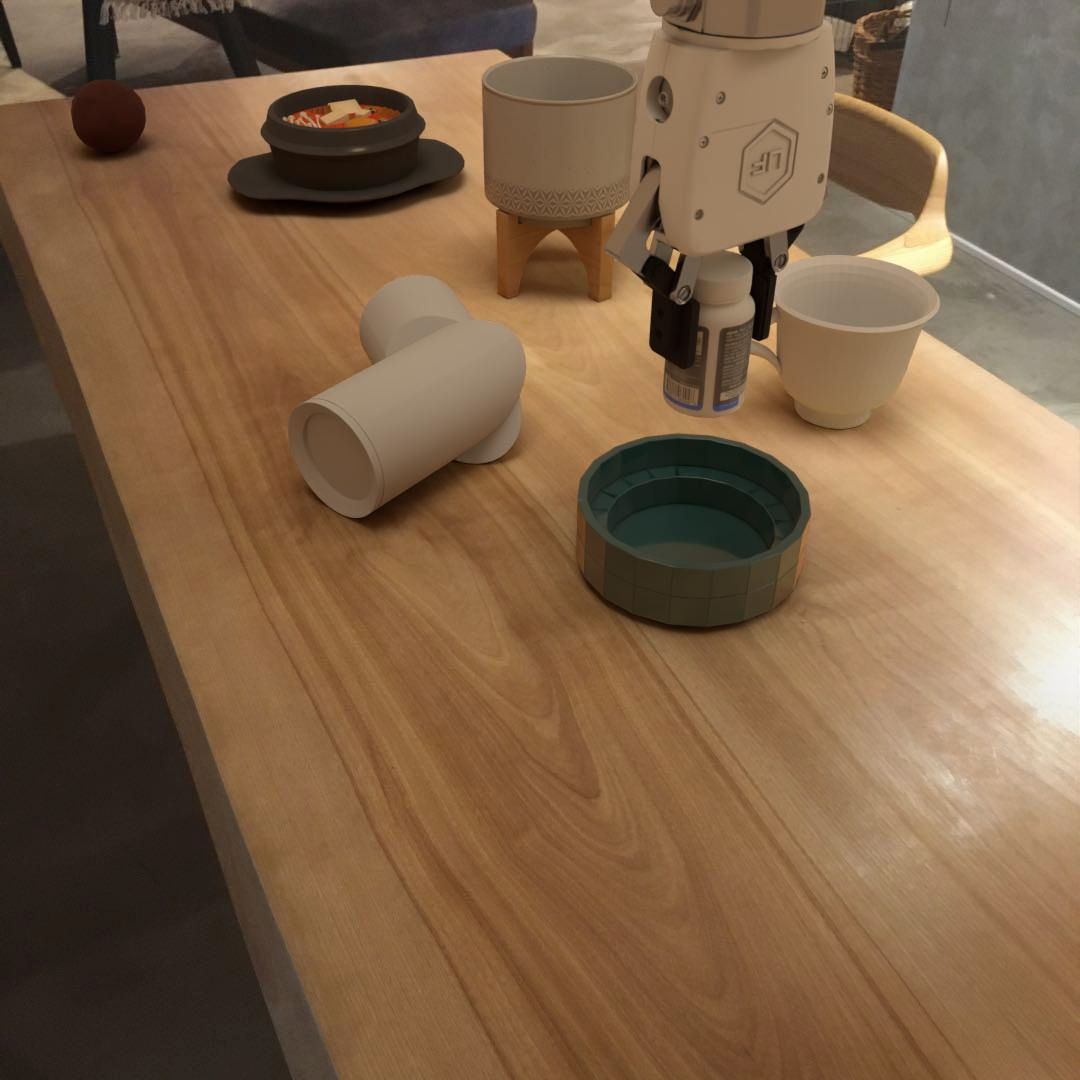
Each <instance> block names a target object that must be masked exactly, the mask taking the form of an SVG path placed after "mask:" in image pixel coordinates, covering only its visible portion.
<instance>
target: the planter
mask: <svg viewBox="0 0 1080 1080" xmlns="http://www.w3.org/2000/svg"><path fill="white" fill-rule="evenodd" d="M638 87H639V79H638V75H637V73H636V72H635V71H634V70H633V69H632V68H630V67H628V66H627V65H625V64H622V63H619V62H616V61H613V60H610V59H606V58H601V57H596V56H587V55H578V54H536V55H528V56H521V57H515V58H511V59H507V60H502V61H500V62H498V63H495V64H493V65H491V66H488V68H486V69H485V70H484V71H483V73H482V74H481V109H482V110H481V111H482V114H481V115H482V147H483V148H482V150H483V151H482V152H483V180H484V181H483V187H484V188H483V189H484V197H485V198H486V200H487V201H488V202H489V203H490V204H491V205H492V206H494V207H495V208H497V209H496V210H495V224H496V225H495V227H496V229H495V230H496V276H497V279H496V282H497V294H499V295H500V296H502V297H504V298H506V299H508V300H509V299H512V298H514V297H516V296H519V295H520V284H521V279H522V275H523V272H524V270H525V266H526V264H527V262H528V260H529V258H530V256H531V255H532V254H533V251H535V249H536V247H537V246H538V245H539V244H540V243H541V242H542V241H543V240H544V239H545V238H546V237H547V236H549V235H550V234H551V233H553V232H555V231H558V232H559V233H562V235H564V236H565V237H566V238H567V239H568V240H569V241H570V242H571V244H572V245H573V247H574V248H575V249H576V251H577V253H578V255H579V257H580V259H581V261H582V263H583V266H584V269H585V272H586V276H587V282H588V287H589V298H591V299H592V300H594V301H597V302H603V301H605V300H607V299H611V298H612V293H613V291H612V288H613V269H614V268H613V267H614V259H613V258H612V257H610V256H609V255H607V254H606V252H605V245H606V242H607V240H608V239H609V237H610V235H611V233H612V232H613V230H614V228H615V226H616V211H618V210H619V209H621V208H623V207H624V206H625V205H626V204H627V203H629V183H630V168H631V155H632V146H633V137H634V129H635V121H636V115H637V108H638Z"/></svg>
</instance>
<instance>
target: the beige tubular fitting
mask: <svg viewBox="0 0 1080 1080" xmlns="http://www.w3.org/2000/svg"><path fill="white" fill-rule="evenodd" d="M358 327H359V328H358V330H359V339H360V343H361V346H362V349H363V351H364V353H365V355H366V356H367V358H368V360H369V362H370V364H371V365H370V366H368V367H366V368H365V369H363V370H361V371H359V372H357V373H355V374H354V375H351V376H350V377H348V378H346V379H344V380H342V381H341V382H339V383H337V384H334V385H333V386H331V387H329V388H328V389H326V390H324V391H322V392H320V393H318V394H316V395H314V396H312V397H311V398H309V399H307V400H304V401H303V402H301V403H300V404H298V405H297V406H295V407H294V408H293V410H292V411H291V413H290V414H289V415H290V416H289V418H288V423H287V436H288V437H287V438H288V443H289V447H290V451H291V454H292V457H293V460H294V462H295V464H296V466H297V468H298V471H299V473H300V474H301V476H302V477H303V479H304V481H305V482H306V484H307V485H308V487H309V488H310V489H311V491H312V492H313V493H314V494H315V495H316V496H317V497H318V498H319V499H320V501H322V502H323V503H324V505H326V506H327V507H328V508H330V509H331V510H333V511H334V512H336V513H338V514H339V515H342V516H344V517H347V518H352V519H360V518H364V517H366V516H368V515H369V514H371V513H372V512H375V511H376V510H377V509H379V508H381V507H382V506H384V505H385V504H387V503H388V502H390V501H391V500H393V499H394V498H396V497H398V496H399V495H401V494H402V493H404V492H406V491H407V490H409V489H410V488H412V487H413V486H415V485H416V484H418V483H420V482H421V481H422V480H424V479H425V478H427V477H428V476H430V475H433V473H435V472H436V471H438V470H439V469H441V468H443V467H445V466H446V465H448V464H449V463H450V462H452V461H457V462H460V463H464V464H474V465H477V464H485V463H489V462H494V461H495V460H497V459H499V458H501V457H503V456H504V455H505V454H507V452H508V451H510V449H512V447H513V445H514V444H515V442H516V440H517V438H518V437H519V434H520V430H521V426H522V419H523V418H522V417H523V409H522V408H523V407H522V406H523V405H522V402H521V401H522V400H521V399H522V398H521V394H522V390H523V387H524V384H525V381H526V380H525V379H526V374H527V373H526V372H527V357H526V354H525V350H524V347H523V345H522V341H521V340H520V339H519V338H518V336H517V334H515V332H513V331H512V330H511V329H510V328H508V327H507V326H505V325H503V324H502V323H499V322H496V321H494V320H489V319H475V318H474V316H473V315H472V313H471V312H470V311H469V309H468V308H467V307H466V306H465V304H464V303H463V301H462V300H461V299H460V298H459V296H458V294H457V293H456V292H455V291H454V290H453V288H452V287H451V286H449V284H447V283H445V282H444V281H442V280H441V279H439V278H437V277H433V276H430V275H426V274H410V275H404V276H400V277H397V278H395V279H393V280H390V281H389V282H387V283H386V284H384V285H383V286H381V287H380V288H379V289H378V290H377V291H375V292H374V293H373V295H372V296H371V297H370V298H369V299H368V300H367V303H366V304H365V306H364V308H363V310H362V312H361V316H360V319H359V326H358Z"/></svg>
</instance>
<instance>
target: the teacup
mask: <svg viewBox="0 0 1080 1080" xmlns="http://www.w3.org/2000/svg"><path fill="white" fill-rule="evenodd" d="M775 275H777V280H776V288H775V295H774V302H773V303H774V304H775V306H773V310H772V317H771V325H770V326H772V325H773V324H776V341H775V342H776V343H775V345H776V348H775V349H776V351H775V353H774V351H773V350H771V348H769V347H768V346H767V345H765V344H763V343H760V342H759V341H756V340H754V339H752V340H751V348H750V355H751V356H755V357H758V358H762V359H764V360H766V361H768V362H769V363H770V364H771V365H772V367H774V369H775V370H776V372H777V374H778V378H779V380H780V383H781V385H782V386H783V388H784V389H785V391H786V392H787V394H788V395H789V396H791V397H792V398H793V399H794V403H793V405H794V410H795V411H796V414H798V416H799V417H800V418H802V419H803V420H805V421H806V422H808V423H810V424H812V425H815V426H818V427H821V428H826V429H833V430H834V429H835V430H845V429H851V428H856V427H858V426H861V425H864V423H866V422H867V421H868V420H869V418H870V417H871V414H872V412H871V411H873V410H876V409H878V408H879V407H882V406H883V405H884V404H886V403H887V402H889V401H890V399H891V398H893V396H894V395H895V394H896V393H897V391H898V389H899V388H900V386H901V384H902V382H903V380H904V377H905V376H906V373H907V371H908V368H909V365H910V362H911V359H912V356H913V354H914V351H915V348H916V345H917V342H918V340H919V337H920V335H921V333H922V331H923V328H924V326H925V324H926V323H927V322H928V321H929V320H931V319H932V318H933V317H934V316H935V315H936V314H937V313H938V311H939V310H940V306H941V300H940V296H939V294H938V292H937V290H935V288H934V286H933V285H931V283H930V282H929V281H928V280H927V279H925V278H924V277H923V276H922V275H920V274H918V273H916V272H915V271H913V270H911V269H909V268H907V267H904V266H902V265H899V264H897V263H892V262H890V261H885V260H882V259H877V258H873V257H866V256H858V255H847V254H827V255H826V254H825V255H815V256H810V257H805V258H801V259H798V260H795V261H792V262H790V263H789V262H788V263H787V265H786V267H785V268H784V269H783V270H782V271H780V272H775Z"/></svg>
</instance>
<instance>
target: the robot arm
mask: <svg viewBox="0 0 1080 1080" xmlns="http://www.w3.org/2000/svg"><path fill="white" fill-rule="evenodd" d="M649 3H650V8H651V11H652V12H653V14H654V15H655V16H656V17H659V18H660V17H661V27H660V28H657V29H655V30H654V31H653V34H652V37H651V41H650V45H649V49H648V52H647V57H646V62H645V66H644V71H643V75H642V79H641V86H640V91H639V97H638V101H637V107H636V121H635V129H634V137H633V146H632V155H631V168H630V183H629V201H628V204H627V205H626V207H625V209H624V211H623V212H622V214H621V216H620V217H619V220H618V222H617V223H616V224H615V228H614V230H613V232H612V233H611V235H610V237H609V239H608V240H607V242H606V245H605V252H606V254H607V255H609V256H610V257H612V258H613V260H615V261H617V262H618V263H620V264H621V265H623V266H625V267H626V268H628V269H629V270H630V271H631V272H633V273H634V274H635V275H636V276H637V277H638V278H639V279H640V280H641V282H642V283H643V285H644V286H645V287H647V288H649V289H651V291H652V292H651V306H650V321H649V335H648V336H649V337H648V346H649V348H650V350H651V351H652V352H654V353H655V354H657V355H659V356H660V357H661V358H663V359H664V360H665V359H666V360H668V361H669V362H671V363H673V364H674V365H676V366H677V367H679V368H681V369H687V368H689V367H692V366H693V364H694V362H695V355H696V345H697V335H698V324H699V314H700V304H699V301H697V300H696V299H694V298H692V297H691V296H692V294H693V290H694V287H695V283H696V280H697V277H698V273H699V270H700V266H701V263H702V259H703V256H706V255H710V254H714V253H717V252H720V251H724V250H726V251H728V250H729V249H734V248H736V247H737V248H738V252H739V253H738V254H740V255H743V256H744V257H746V258H747V259H748V260H749V261H750V262H751V263H752V266H753V274H752V284H751V290H750V293H749V294H750V295H751V297H752V298H753V300H754V303H755V316H754V322H753V331H752V340H753V341H755V342H762V341H764V340H768V338H769V336H770V331H771V326H772V325H771V317H772V310H773V307H774V303H775V302H774V295H775V288H776V280H777V275H775V272H780V271H782V270H783V269H784V268H785V267H786V265H787V264H789V261H790V260H789V259H790V255H789V249H790V248H791V247H792V245H793V244H794V242H795V241H796V240H797V239H798V237H799V236H800V234H801V233H802V232H803V230H804V228H805V225H806V223H807V222H809V221H810V220H811V219H813V218H814V217H816V215H817V214H818V213H819V212H820V211H821V208H822V206H823V203H824V201H825V200H826V198H827V197H828V194H829V189H828V188H829V187H828V186H827V181H828V175H829V167H830V158H831V147H832V139H833V126H834V116H835V115H834V111H835V94H836V92H835V91H836V88H835V87H836V59H835V58H836V56H835V55H836V54H835V41H834V31H833V30H834V29H833V25H832V22H830V21H829V20H826V19H824V17H825V11H826V3H827V0H649ZM653 231H654V232H653ZM652 232H653V235H652V239H651V241H650V242H651V243H650V247H649V248H648V246H647V243H648V239H649V237H650V236H651V234H652ZM674 250H675V251H677V252H679V255H678V259H677V262H676V266H675V269H673V268H672V267H671V266H670V263H671V260H672V256H673V253H674Z"/></svg>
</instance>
